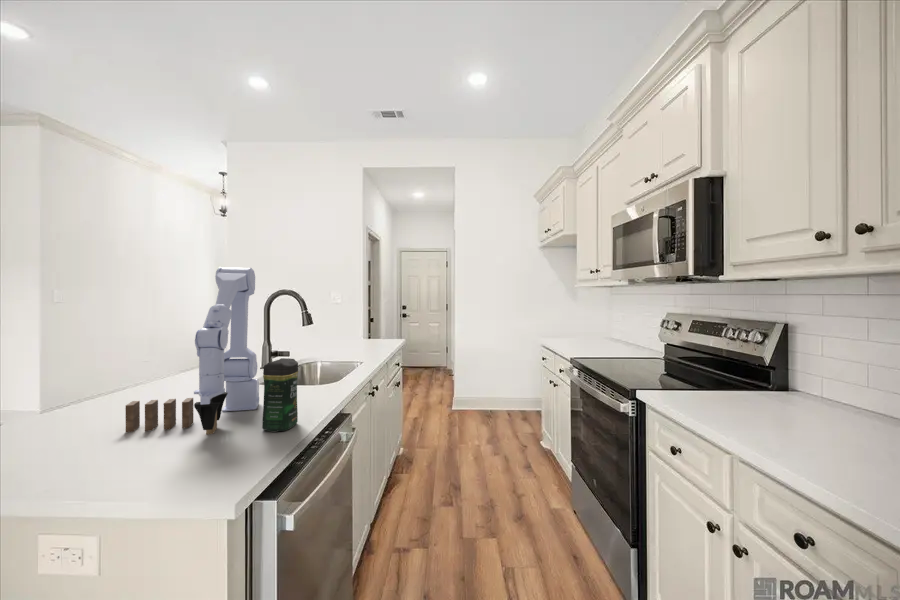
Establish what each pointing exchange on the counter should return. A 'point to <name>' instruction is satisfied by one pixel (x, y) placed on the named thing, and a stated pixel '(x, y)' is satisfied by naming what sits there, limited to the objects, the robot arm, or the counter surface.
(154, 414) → the brown rectangular block
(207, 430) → the tile
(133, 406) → the wood grain rectangular block
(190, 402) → the tile
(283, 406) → the coffee jar
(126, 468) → the counter surface
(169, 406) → the brown rectangular block
